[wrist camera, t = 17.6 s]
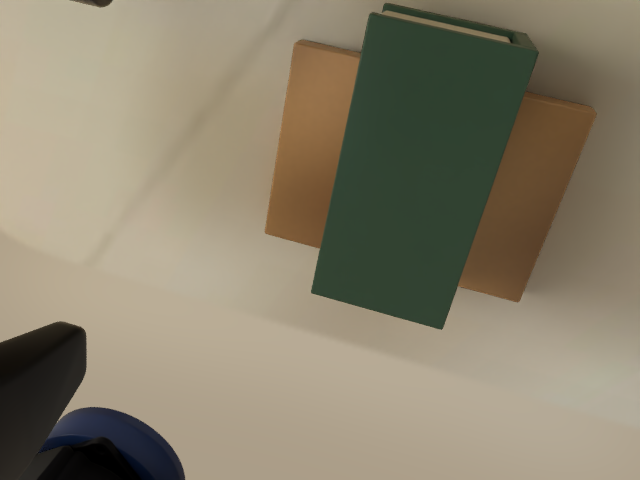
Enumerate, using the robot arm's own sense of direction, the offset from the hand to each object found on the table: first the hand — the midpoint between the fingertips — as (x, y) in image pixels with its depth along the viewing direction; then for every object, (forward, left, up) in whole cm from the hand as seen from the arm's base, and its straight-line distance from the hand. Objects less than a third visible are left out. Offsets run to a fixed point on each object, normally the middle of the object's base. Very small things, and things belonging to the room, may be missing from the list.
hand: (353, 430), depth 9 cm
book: (+1, 0, -11) cm, 11 cm away
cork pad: (0, 0, -12) cm, 12 cm away
